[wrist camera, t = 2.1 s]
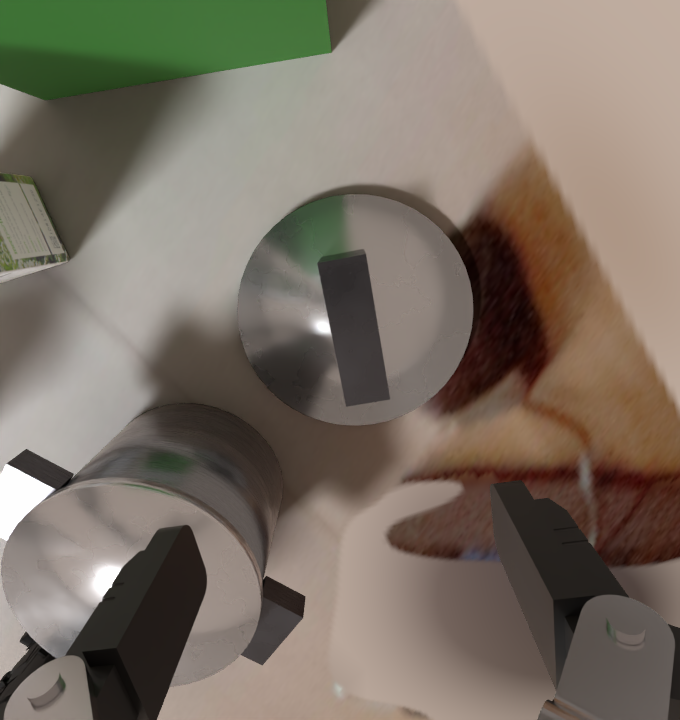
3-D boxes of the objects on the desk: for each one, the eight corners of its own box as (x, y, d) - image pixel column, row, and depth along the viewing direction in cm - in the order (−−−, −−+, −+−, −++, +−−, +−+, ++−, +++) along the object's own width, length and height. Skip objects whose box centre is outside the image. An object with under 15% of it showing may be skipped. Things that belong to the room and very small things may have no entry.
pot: (48, 488, 36) (-75, 602, 25) (124, 346, 32) (14, 411, 21) (254, 594, 39) (219, 734, 29) (347, 477, 35) (346, 590, 25)
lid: (214, 221, 29) (187, 222, 24) (456, 172, 28) (478, 162, 23) (271, 433, 34) (257, 470, 29) (478, 399, 33) (501, 432, 28)
